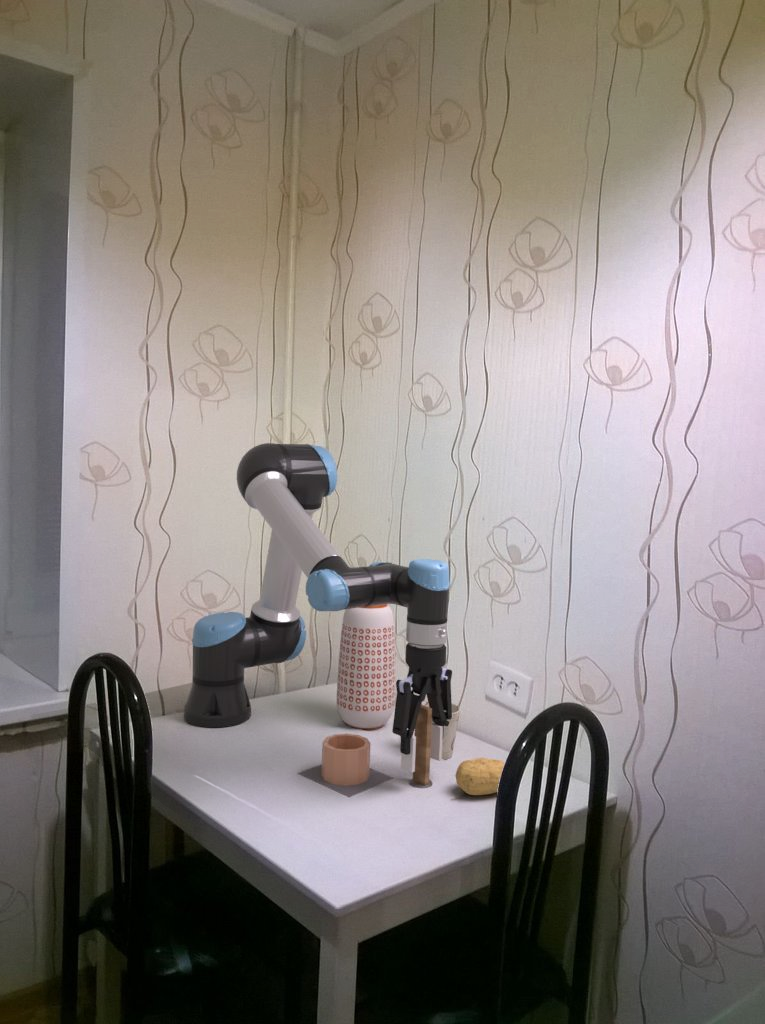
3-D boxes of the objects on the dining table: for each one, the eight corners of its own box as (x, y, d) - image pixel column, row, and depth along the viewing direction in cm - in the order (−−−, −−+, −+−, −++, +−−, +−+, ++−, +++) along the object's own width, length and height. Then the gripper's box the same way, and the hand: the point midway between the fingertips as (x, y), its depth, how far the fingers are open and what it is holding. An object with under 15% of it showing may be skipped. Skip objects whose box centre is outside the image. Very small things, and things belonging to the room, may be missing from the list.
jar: (312, 774, 147) (313, 741, 147) (345, 762, 154) (346, 730, 153) (345, 789, 141) (346, 755, 141) (378, 776, 148) (379, 742, 147)
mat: (297, 775, 148) (297, 773, 148) (342, 758, 157) (342, 756, 157) (349, 799, 138) (349, 796, 138) (393, 779, 147) (393, 777, 147)
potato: (448, 787, 144) (449, 755, 144) (502, 782, 148) (504, 750, 147) (462, 803, 138) (463, 769, 138) (518, 797, 141) (520, 764, 141)
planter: (324, 721, 178) (327, 600, 176) (367, 710, 187) (371, 594, 184) (361, 738, 168) (366, 610, 166) (406, 725, 177) (410, 603, 175)
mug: (455, 764, 156) (457, 715, 155) (394, 757, 158) (395, 709, 157) (459, 749, 164) (461, 703, 163) (401, 743, 166) (403, 697, 165)
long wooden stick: (404, 784, 145) (407, 706, 144) (419, 778, 148) (422, 701, 147) (422, 792, 142) (425, 712, 141) (437, 785, 145) (440, 707, 144)
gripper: (405, 656, 133) (401, 786, 135) (474, 639, 148) (469, 755, 150) (374, 648, 138) (370, 772, 140) (443, 631, 153) (439, 744, 155)
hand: (421, 763), depth 145 cm, fingers open, 7 cm apart
